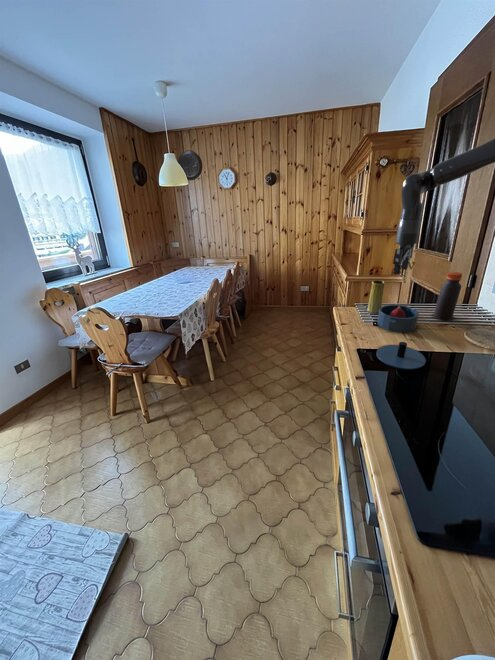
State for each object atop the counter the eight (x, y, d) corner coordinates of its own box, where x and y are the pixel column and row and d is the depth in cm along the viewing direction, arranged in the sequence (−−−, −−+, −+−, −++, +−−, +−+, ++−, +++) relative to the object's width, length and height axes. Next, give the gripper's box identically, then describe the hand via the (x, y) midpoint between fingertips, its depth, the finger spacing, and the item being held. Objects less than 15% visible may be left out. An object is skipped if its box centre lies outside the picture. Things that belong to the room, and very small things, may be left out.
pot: (419, 320, 123) (422, 306, 120) (409, 339, 109) (413, 324, 106) (384, 313, 131) (386, 300, 128) (371, 330, 117) (373, 316, 114)
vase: (378, 308, 137) (383, 279, 130) (382, 313, 131) (387, 283, 125) (365, 308, 138) (369, 280, 131) (369, 313, 132) (373, 284, 126)
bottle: (434, 313, 128) (446, 270, 119) (452, 317, 124) (466, 272, 115) (432, 319, 123) (443, 274, 114) (450, 322, 119) (464, 276, 110)
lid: (428, 354, 99) (432, 339, 96) (420, 376, 89) (425, 360, 86) (382, 343, 108) (385, 329, 105) (370, 362, 97) (373, 347, 94)
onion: (406, 327, 117) (410, 309, 114) (392, 327, 117) (395, 310, 114) (399, 321, 122) (403, 303, 119) (386, 321, 123) (389, 304, 119)
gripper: (411, 234, 104) (403, 277, 111) (424, 229, 112) (415, 269, 120) (390, 233, 109) (384, 274, 116) (404, 228, 117) (397, 266, 125)
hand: (400, 271), depth 118 cm, fingers open, 8 cm apart
